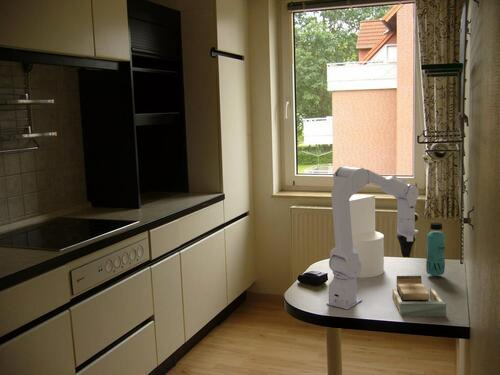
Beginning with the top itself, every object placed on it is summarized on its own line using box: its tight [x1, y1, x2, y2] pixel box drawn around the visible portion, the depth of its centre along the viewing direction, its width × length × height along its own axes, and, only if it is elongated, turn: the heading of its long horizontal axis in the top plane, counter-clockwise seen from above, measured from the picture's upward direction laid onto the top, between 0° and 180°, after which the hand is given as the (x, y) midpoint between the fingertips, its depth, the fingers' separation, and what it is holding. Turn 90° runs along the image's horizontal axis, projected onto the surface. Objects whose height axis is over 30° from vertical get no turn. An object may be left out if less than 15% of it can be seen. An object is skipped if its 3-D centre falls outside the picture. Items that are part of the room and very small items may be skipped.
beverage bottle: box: [425, 221, 446, 276], centre depth 193 cm, size 6×7×20 cm
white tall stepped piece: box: [350, 194, 385, 279], centre depth 203 cm, size 17×17×28 cm
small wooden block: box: [396, 275, 430, 302], centre depth 176 cm, size 12×8×5 cm, turn 175°
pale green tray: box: [392, 288, 447, 317], centre depth 167 cm, size 16×13×4 cm
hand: (405, 256), depth 185 cm, fingers closed
